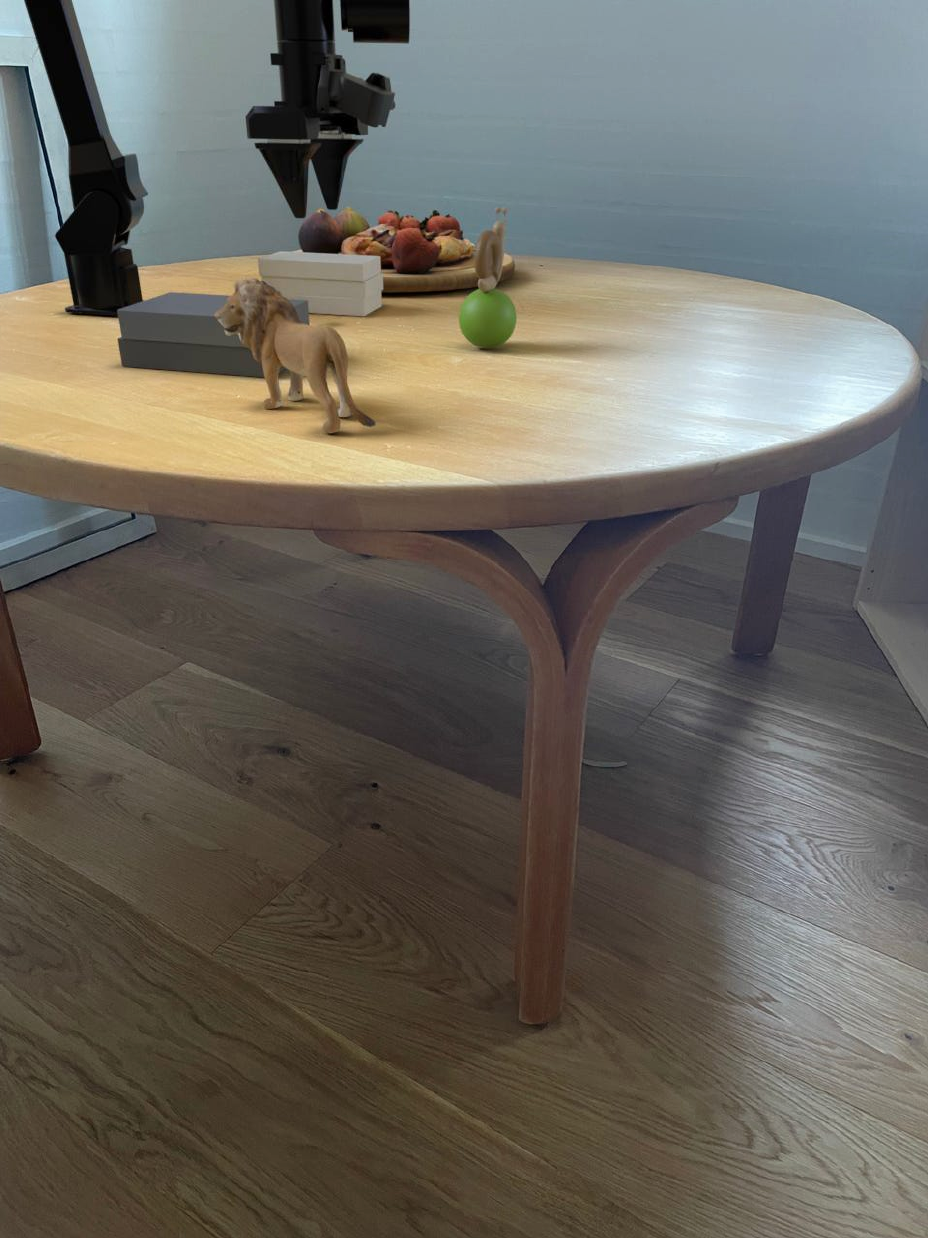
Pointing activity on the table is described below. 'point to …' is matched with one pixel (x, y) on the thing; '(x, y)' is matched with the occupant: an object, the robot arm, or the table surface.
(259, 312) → the lion figurine
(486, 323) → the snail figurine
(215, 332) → the dark grey box
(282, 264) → the white rectangular block
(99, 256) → the robot arm
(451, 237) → the wooden plate
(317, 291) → the light grey block
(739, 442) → the table surface
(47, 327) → the table surface
